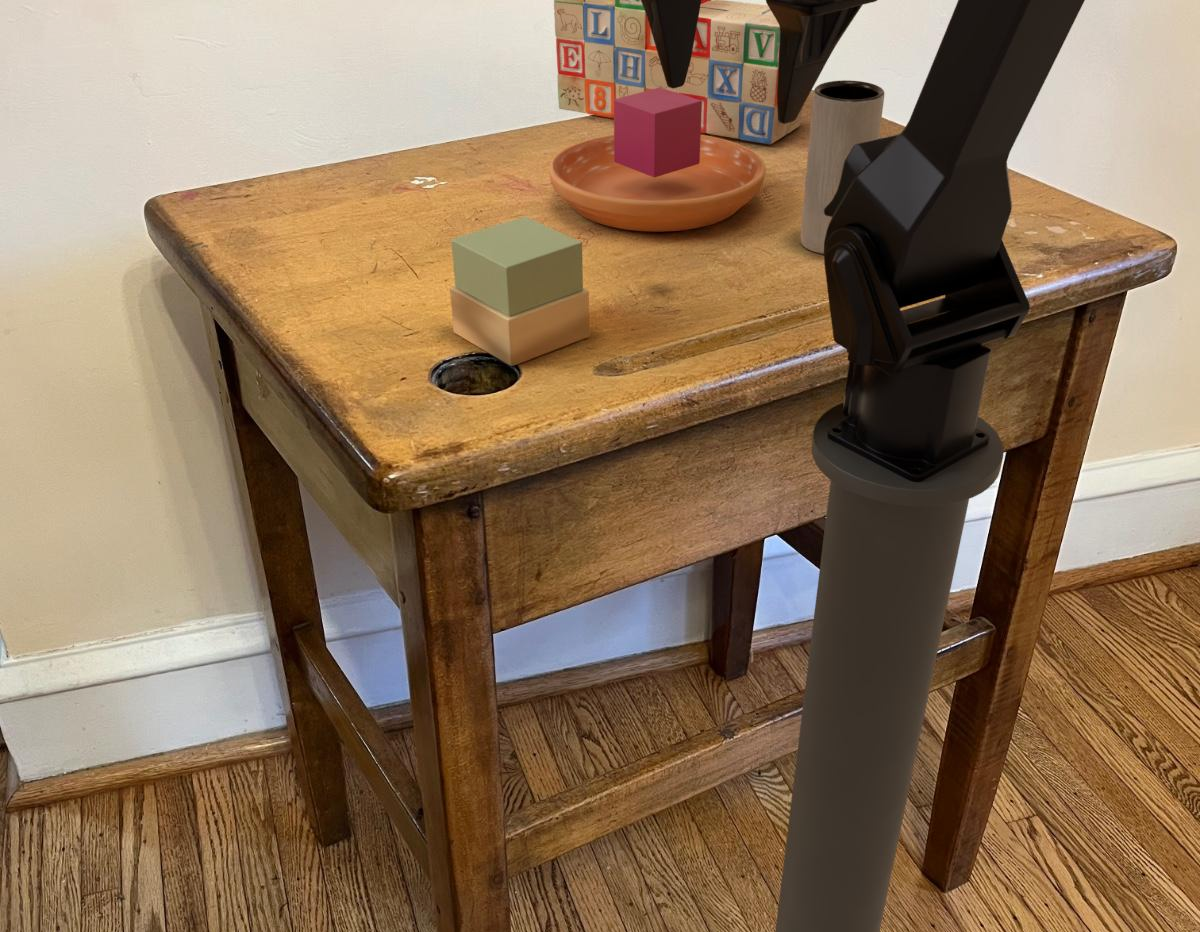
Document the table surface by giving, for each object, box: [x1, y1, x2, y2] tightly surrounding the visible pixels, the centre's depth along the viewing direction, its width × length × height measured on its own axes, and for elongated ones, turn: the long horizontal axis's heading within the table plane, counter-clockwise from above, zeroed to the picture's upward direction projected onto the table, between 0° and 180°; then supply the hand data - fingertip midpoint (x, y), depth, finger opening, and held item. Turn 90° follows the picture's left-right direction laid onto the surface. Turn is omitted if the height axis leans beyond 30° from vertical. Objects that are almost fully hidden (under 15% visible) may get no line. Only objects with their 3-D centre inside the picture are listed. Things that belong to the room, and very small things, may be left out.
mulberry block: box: [613, 88, 702, 178], centre depth 89 cm, size 4×4×4 cm
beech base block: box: [449, 285, 591, 367], centre depth 75 cm, size 6×6×3 cm
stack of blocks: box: [553, 0, 803, 145], centre depth 105 cm, size 21×6×12 cm, turn 58°
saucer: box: [548, 134, 767, 233], centre depth 92 cm, size 16×16×3 cm
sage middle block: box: [450, 215, 584, 316], centre depth 73 cm, size 6×6×3 cm
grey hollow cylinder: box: [800, 79, 885, 255], centre depth 83 cm, size 4×4×10 cm
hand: (729, 103), depth 72 cm, fingers open, 9 cm apart
